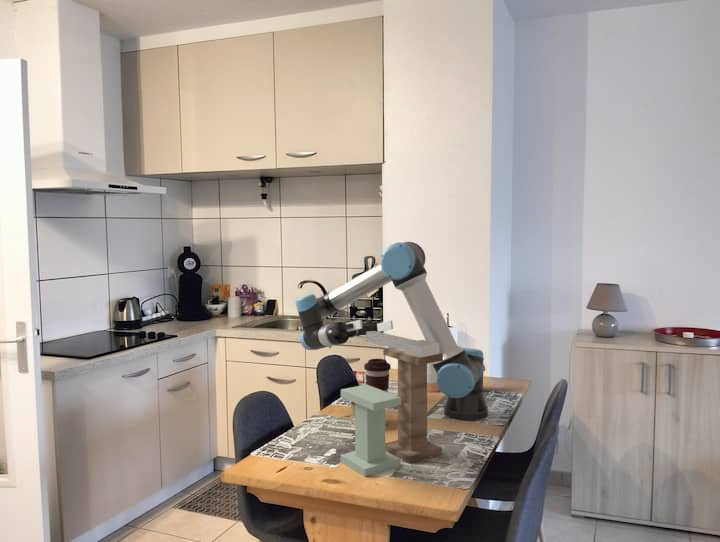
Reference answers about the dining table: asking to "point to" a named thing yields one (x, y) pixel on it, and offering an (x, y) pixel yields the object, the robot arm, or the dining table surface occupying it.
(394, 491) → the dining table surface
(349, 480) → the dining table surface
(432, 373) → the pepper shaker
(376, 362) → the coffee cup
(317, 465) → the dining table surface
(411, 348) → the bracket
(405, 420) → the tall stand
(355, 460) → the low stand
